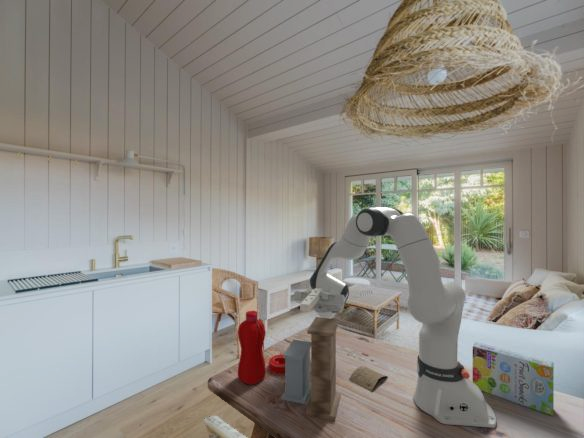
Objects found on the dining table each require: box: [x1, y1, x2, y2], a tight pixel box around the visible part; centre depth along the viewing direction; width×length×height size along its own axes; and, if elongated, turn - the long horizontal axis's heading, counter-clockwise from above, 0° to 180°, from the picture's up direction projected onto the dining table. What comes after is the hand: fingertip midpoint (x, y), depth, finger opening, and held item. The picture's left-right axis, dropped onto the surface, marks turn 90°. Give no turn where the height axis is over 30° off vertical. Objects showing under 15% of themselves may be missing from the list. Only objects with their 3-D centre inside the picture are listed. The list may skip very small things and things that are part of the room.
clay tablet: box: [348, 365, 386, 393], centre depth 105 cm, size 14×10×3 cm
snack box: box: [472, 341, 555, 417], centre depth 94 cm, size 21×6×15 cm, turn 46°
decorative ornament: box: [268, 354, 285, 375], centre depth 114 cm, size 10×10×3 cm
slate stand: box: [281, 339, 311, 405], centre depth 98 cm, size 8×12×15 cm, turn 163°
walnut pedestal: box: [305, 316, 342, 422], centre depth 90 cm, size 9×12×26 cm
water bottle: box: [237, 310, 267, 386], centre depth 105 cm, size 9×11×25 cm
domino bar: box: [299, 288, 323, 313], centre depth 101 cm, size 3×21×2 cm, turn 162°
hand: (315, 293), depth 105 cm, fingers closed on domino bar, 3 cm apart
